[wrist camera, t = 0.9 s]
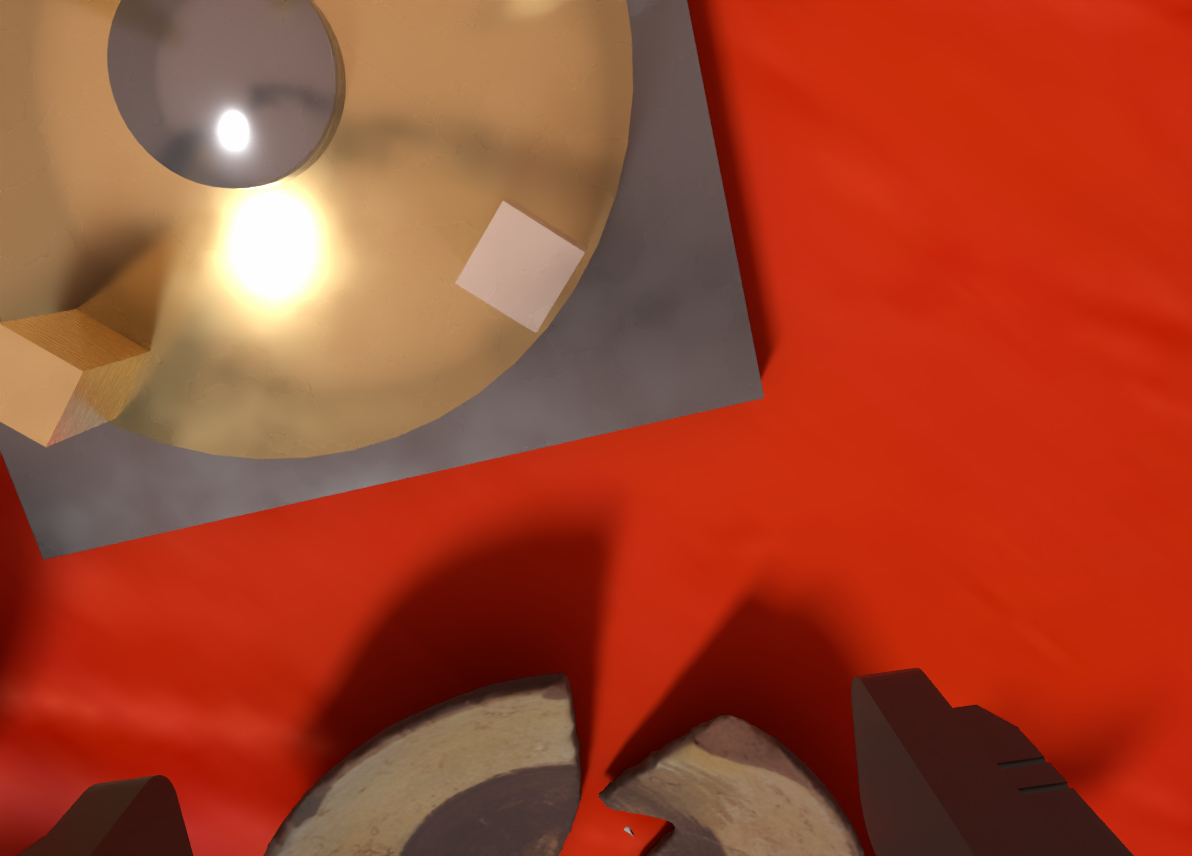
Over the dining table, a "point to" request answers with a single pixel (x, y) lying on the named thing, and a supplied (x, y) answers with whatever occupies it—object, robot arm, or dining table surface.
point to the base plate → (519, 395)
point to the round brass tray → (293, 209)
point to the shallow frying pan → (556, 787)
